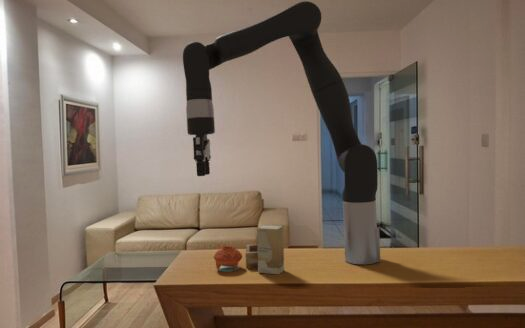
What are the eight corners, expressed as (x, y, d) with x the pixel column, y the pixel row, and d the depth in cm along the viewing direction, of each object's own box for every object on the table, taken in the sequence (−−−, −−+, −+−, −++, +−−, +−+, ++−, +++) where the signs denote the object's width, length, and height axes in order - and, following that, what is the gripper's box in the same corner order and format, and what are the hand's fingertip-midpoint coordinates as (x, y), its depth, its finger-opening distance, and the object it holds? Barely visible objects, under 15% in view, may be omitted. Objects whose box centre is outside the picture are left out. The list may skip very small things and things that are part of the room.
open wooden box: (273, 257, 118) (272, 243, 118) (274, 266, 108) (273, 251, 108) (247, 258, 118) (246, 244, 118) (246, 268, 108) (245, 253, 108)
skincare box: (257, 273, 103) (255, 227, 102) (263, 268, 107) (261, 224, 107) (280, 274, 100) (278, 228, 100) (285, 270, 104) (283, 225, 104)
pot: (216, 263, 113) (220, 240, 113) (241, 269, 112) (246, 246, 111) (208, 270, 105) (212, 246, 105) (235, 277, 104) (240, 253, 103)
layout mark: (239, 264, 111) (239, 264, 111) (238, 271, 105) (238, 270, 105) (219, 265, 111) (219, 265, 111) (216, 272, 105) (216, 271, 105)
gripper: (210, 113, 100) (214, 176, 100) (216, 118, 114) (219, 173, 114) (181, 115, 100) (185, 177, 100) (191, 120, 114) (194, 174, 114)
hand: (203, 175), depth 107 cm, fingers open, 8 cm apart
